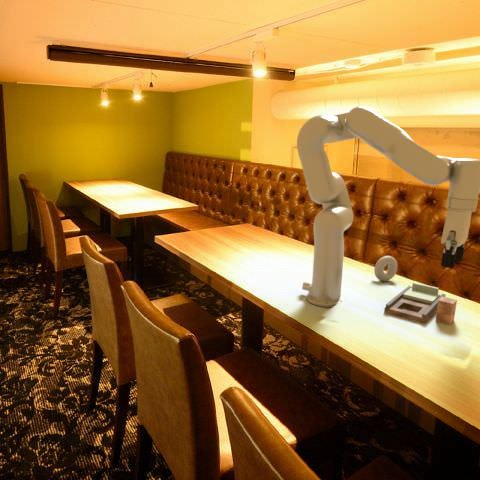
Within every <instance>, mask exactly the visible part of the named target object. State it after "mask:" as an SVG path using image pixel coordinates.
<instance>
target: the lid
mask: <svg viewBox="0 0 480 480" xmlns="http://www.w3.org/2000/svg"><path fill="white" fill-rule="evenodd" d="M411 287H412V288H410V289H409V290H408V291H406V292H405V293H404V294H403V297H405V298H409V299H413V300H417V301H421V302H425V303H429V304H432V303H433V302H434V301H435V300H436V299H437V298H438V297H439V296H440V295H441V294H440V293H439V290H440V288H439V287H436V286H431V285H428V284H423V283H418V282H412V286H411Z"/></svg>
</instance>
